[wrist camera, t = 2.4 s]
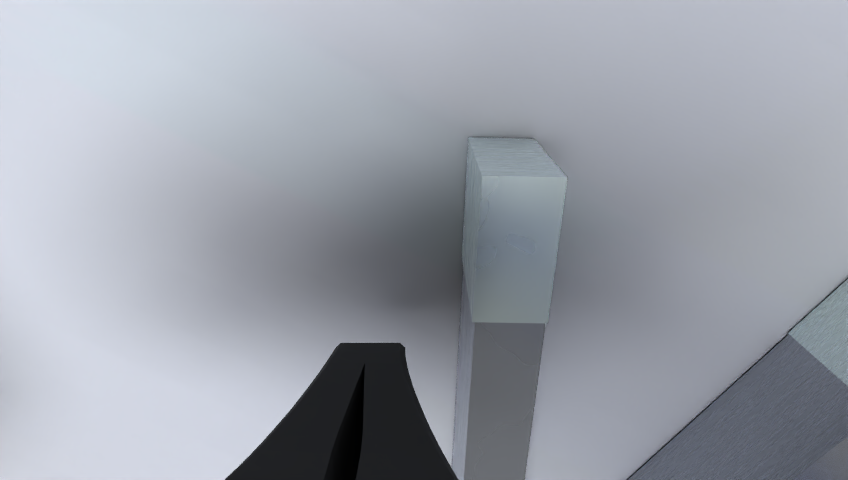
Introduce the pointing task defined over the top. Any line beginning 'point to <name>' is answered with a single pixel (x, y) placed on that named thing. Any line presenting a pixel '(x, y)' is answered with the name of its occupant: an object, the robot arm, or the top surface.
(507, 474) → the tongs moving leg
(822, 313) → the bar
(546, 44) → the top surface
